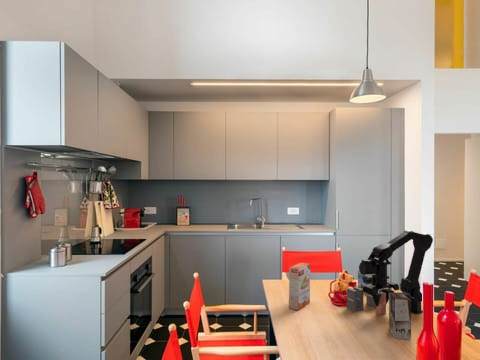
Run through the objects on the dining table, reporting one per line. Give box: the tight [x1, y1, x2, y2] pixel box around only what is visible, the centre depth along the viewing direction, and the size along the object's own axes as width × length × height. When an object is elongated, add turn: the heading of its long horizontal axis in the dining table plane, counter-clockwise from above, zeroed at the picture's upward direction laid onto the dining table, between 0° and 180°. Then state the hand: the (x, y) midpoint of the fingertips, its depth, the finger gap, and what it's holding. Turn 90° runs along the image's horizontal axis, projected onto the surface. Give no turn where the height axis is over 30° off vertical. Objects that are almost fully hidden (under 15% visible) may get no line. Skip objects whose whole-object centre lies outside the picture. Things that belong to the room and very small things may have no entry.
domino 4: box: [375, 292, 387, 316], centre depth 150 cm, size 5×2×10 cm, turn 115°
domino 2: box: [353, 286, 364, 311], centre depth 157 cm, size 5×2×10 cm, turn 25°
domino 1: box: [346, 287, 358, 312], centre depth 155 cm, size 5×2×10 cm, turn 25°
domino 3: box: [365, 284, 376, 308], centre depth 161 cm, size 5×2×10 cm, turn 25°
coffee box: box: [388, 291, 412, 341], centre depth 129 cm, size 9×6×16 cm
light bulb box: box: [357, 269, 373, 289], centre depth 187 cm, size 11×7×11 cm, turn 25°
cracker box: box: [288, 262, 311, 311], centre depth 160 cm, size 14×6×21 cm, turn 143°
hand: (381, 305), depth 150 cm, fingers closed on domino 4, 5 cm apart
